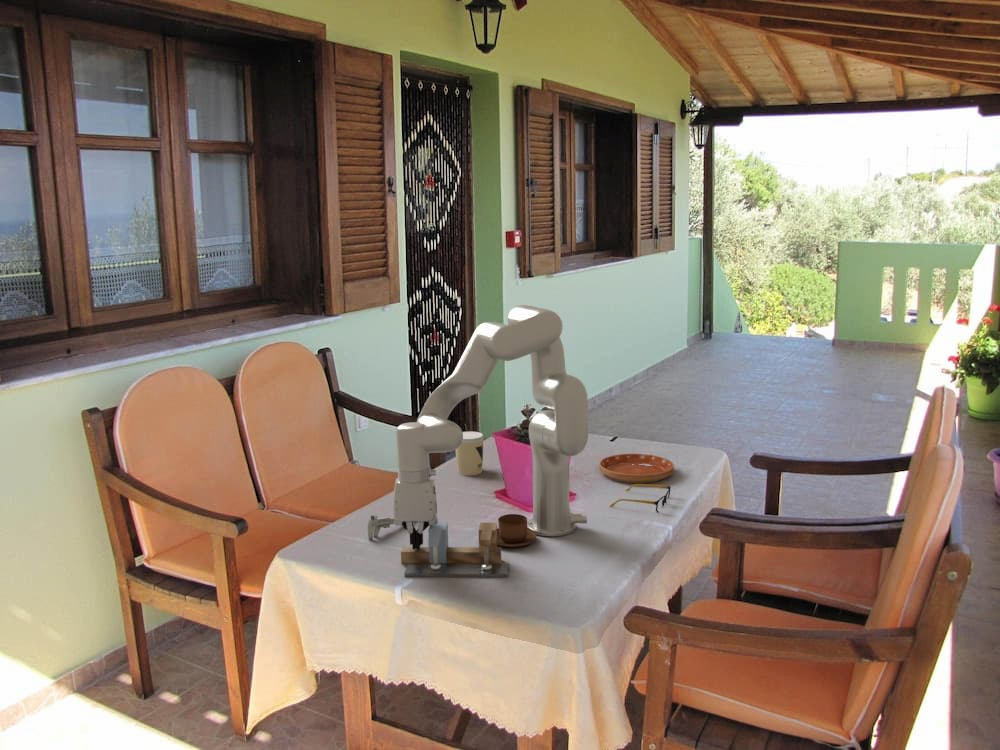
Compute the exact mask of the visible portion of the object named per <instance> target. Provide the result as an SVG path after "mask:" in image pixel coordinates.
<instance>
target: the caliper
mask: <svg viewBox="0 0 1000 750" xmlns="http://www.w3.org/2000/svg"><path fill="white" fill-rule="evenodd" d="M393 521H394V516H392V517H390V516H383V517H378V515H377V514H373V515H370V519H369V520H368V524H367V538H368V539H369V540H373V538H375V539H376V538H378V537H379V533H380V531H381V528H384V529H387V528H390V526H391V525H395V524H394V523H393Z"/></svg>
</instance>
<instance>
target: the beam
mask: <svg viewBox="0 0 1000 750" xmlns="http://www.w3.org/2000/svg"><path fill="white" fill-rule="evenodd" d="M497 529H498V522H480V523H479V526H478V547H475V546H473V547H471V546H470V547H468V546H467V547H466V546H464V547H463V546H462V547H461V546H460V547H459V546H458V547H457V546H455V547H454V546H452V547H451V546H450V547H449V546H448V547H447V550H446V562H447V563H485V564H502V547H498V545H497ZM400 561H401V562H400V563H401V564H407V565H408V563H430V560H429V546H420V549H413V547H412V546H402V548H401V550H400Z"/></svg>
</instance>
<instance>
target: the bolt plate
mask: <svg viewBox="0 0 1000 750" xmlns="http://www.w3.org/2000/svg"><path fill="white" fill-rule="evenodd" d="M509 565H510V564H509V563H501V564H485V563H437V564H434V563H408V564H407V566H406V569H405V571H404V574H403V575H404V577H406V578H408V577H410V578H414V577H417V578H418V577H420V578H422V577H424V578H431V577H432V578H508V575H509V567H510V566H509Z"/></svg>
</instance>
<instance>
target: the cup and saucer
mask: <svg viewBox="0 0 1000 750" xmlns="http://www.w3.org/2000/svg"><path fill="white" fill-rule="evenodd" d="M497 521H498V522H497V546H502V547H506V548H517V547H518V548H519V547H525V546H527V545H530V544H532V543H533V542H534V541H535V540H536V538H537V536H538V535H537V534H536V532H535V531H533V530H532V529H529V528H527V524H528V518H527V517H526V516H525V515H522V514H517V513H510V514H503V515H501V516H500V517H498V520H497Z"/></svg>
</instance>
